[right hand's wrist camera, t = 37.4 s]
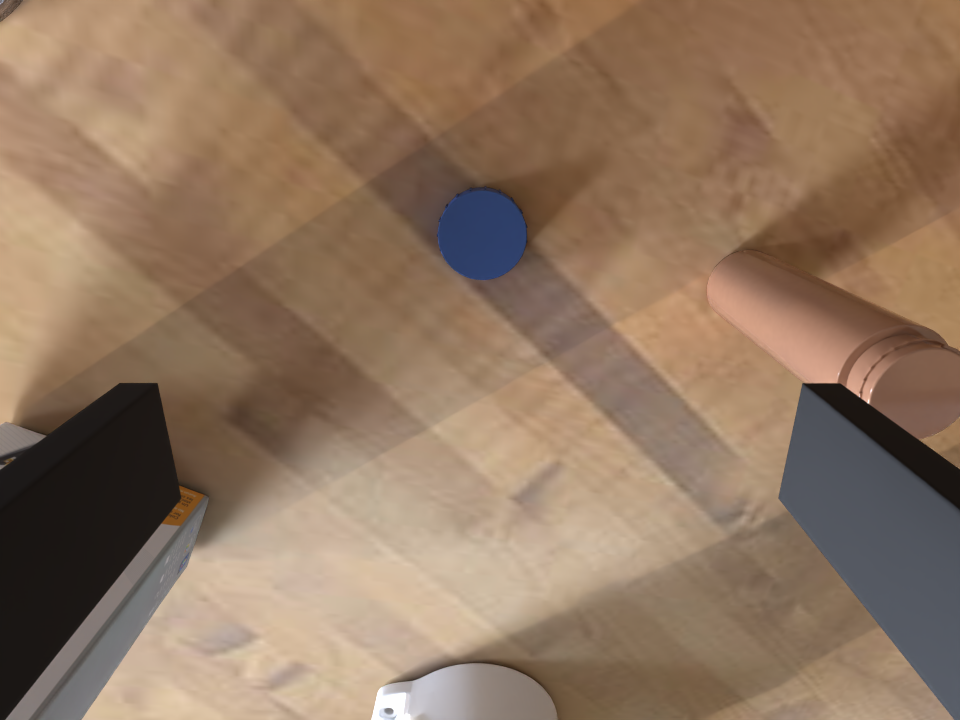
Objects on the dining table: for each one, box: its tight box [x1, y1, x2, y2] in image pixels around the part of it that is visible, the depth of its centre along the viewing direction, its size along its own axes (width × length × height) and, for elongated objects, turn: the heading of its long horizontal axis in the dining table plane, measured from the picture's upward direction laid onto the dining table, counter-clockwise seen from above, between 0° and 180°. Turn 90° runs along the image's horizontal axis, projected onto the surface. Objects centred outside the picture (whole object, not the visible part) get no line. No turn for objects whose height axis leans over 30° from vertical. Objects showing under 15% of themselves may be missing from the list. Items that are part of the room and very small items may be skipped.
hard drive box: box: [0, 422, 209, 720], centre depth 37 cm, size 16×8×20 cm, turn 66°
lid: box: [437, 186, 527, 280], centre depth 38 cm, size 6×6×2 cm
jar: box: [707, 250, 960, 439], centre depth 32 cm, size 5×5×18 cm
